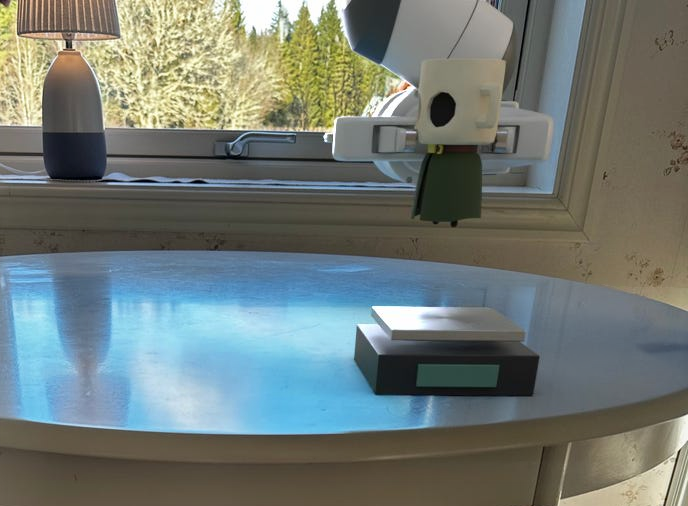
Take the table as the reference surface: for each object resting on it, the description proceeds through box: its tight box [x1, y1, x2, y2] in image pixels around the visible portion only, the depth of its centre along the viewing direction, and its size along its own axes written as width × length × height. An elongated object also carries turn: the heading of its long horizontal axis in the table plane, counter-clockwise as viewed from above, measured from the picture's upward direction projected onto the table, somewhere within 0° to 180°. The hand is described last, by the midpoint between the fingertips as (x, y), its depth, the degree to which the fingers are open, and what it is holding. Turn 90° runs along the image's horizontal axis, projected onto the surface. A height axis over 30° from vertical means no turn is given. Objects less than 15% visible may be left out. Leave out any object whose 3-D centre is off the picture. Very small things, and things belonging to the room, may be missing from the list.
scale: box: [353, 323, 541, 397], centre depth 77 cm, size 12×12×3 cm
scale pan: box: [370, 305, 527, 343], centre depth 75 cm, size 10×10×1 cm
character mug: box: [409, 59, 506, 228], centre depth 84 cm, size 11×7×13 cm, turn 23°
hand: (456, 140), depth 83 cm, fingers closed on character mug, 7 cm apart
